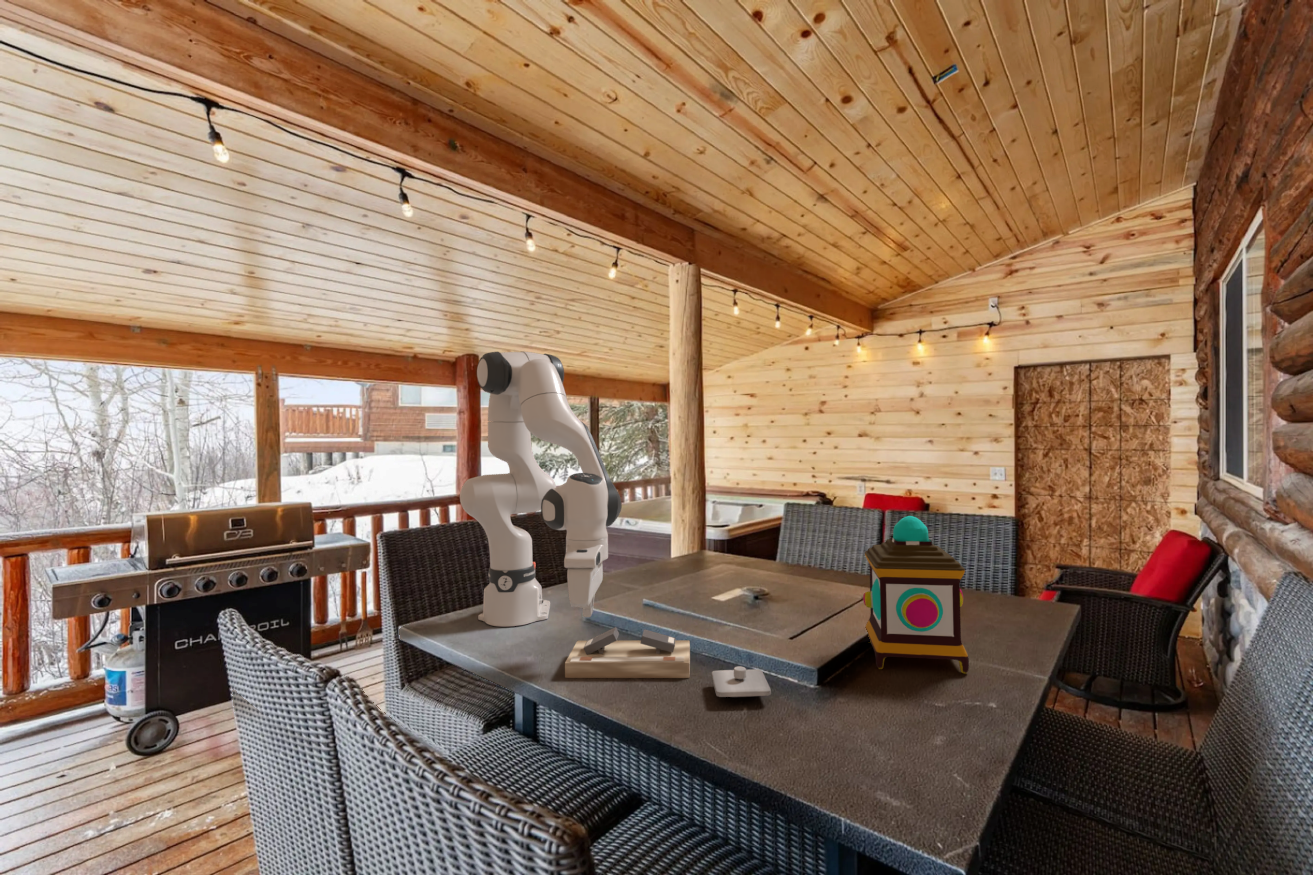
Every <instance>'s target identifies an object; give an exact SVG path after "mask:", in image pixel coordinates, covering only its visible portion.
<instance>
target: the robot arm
mask: <svg viewBox="0 0 1313 875" xmlns="http://www.w3.org/2000/svg"><path fill="white" fill-rule="evenodd" d="M476 377H477V383H478V386H480V388H481V389H482V390H483V392H485V393H488V394H489V399H488V405H487V406H488V407H487V448H488V451H489V452H490V454H491V455H492V456H493V457H495V458H497V459H498V460H501V461H502V462H504V463H506V464H507V466H508V468H509V470H508V471H509V472H508V473H494V474H484V475H483V474H482V475H478V476H475V477H471V478H468V479H466V481H465V482H464V483H463V484H462V487H461V488H460V493H459V502H460V505H461V507H462V509H463V510H464V512H465V513H466V514H468V515H469V516H470V517H472V518H474V519H475V520H476V521H477V522H478V523H479V524H480V525H481V527H482V529H483V530H484V532H485V534H486V538H487V542H488V549H489V563H490V564H489V568H488V573H487V574H488V581H489V584H488V585H487V586H485V587H484V590H483V609H482V613H480V614H478V616H477V617H478V618H477V620H479V621H483V622H484V623H486V624H487V625H490V626H494V627H515V626H516V627H518V626H524V625H527V624H532V623H534V622H539V621H544V620H547V619H549V614H550V608H551V601H550V600H547V599H543V591H542V590H543V588H542V585H541V583H539V581H538V580H537V579H536V575H537V574H536V561H533V538H532V536H531V535H530V534H531V533H529V532H528V531H526V530H525V529H523V528H522V527H519V526H516V525H514V524H513V523H512V520H511V515H516V514H517V515H518V514H528V513H536V512H541V519H542V521H543V522H544V523H545V524H546V525H547V526H548V527H549V528H550V529H552V530H556V531H565V530H566V537H565V555H564V560H563V562H564V563H563V566H564V568H566V570H567V571H566V573H567V575H566V576H567V577H566V580H567V592H568V599H569V604H570V606H571V607H572V608H581V609H582V618H590V617H592V615H593V613H594V602H595V598H596V597H595V596H596V595H595V594H596V592H597V591H598V589H599V588H600V586H601V584H602V582H603V578H604V576H603V575H604V570H603V569H604V568H603V561H606V560H607V559H608V558H609V532H608V529H607V527H611V526H612V525H613V524H614V523H615V522H616V521H617V519H618V517H619V515H620V514H621V512H622V505H623V504H622V499H621V495H620V493H619V491H618V490H617V488H616V486H615V485H614V484H613V481H612V479H611V478H610V476H609V473H608V472H607V469H606V466H605V463H604V462H603V460H602V457H601V454H600V452H599V448H597V445H596V442H595V440H594V438H593V435H592V434H591V431H590V430H589V428H588V426H587V425H586V424H585V422H584V421H581V420H580V419H579V418H578V417H577V415H576V414H575V413H574V412H573V410H572V408H571V406H570V404H569V401H568V398H567V394H566V391H565V387H564V380H565V368H564V365H563V363H562V361H561V360H560V358H559V357H557V356H555V355H552V354H550V353H538V352H532V351H507V352H506V351H505V352H504V351H503V352H500V351H491V352H486V353H484V354H483V355H482V356H481V357H480V358H479V360H478V364H477V369H476ZM532 436H534V437H536V438H537V439H539V440H541V441H544V442H547V443H551V444H554V445H556V446H559V447H561V448H563V449H566V450H567V451H568V452H570V453H572V455H574V456H575V458H576V460H577V462H578V464H579V467H580V470H581V472H575V473H573V474H570V475H569V476H568V477H567V479H566V482H564V483H563V484H561V485H558V486H557V485H556V482H555V481H554V480H555V479H553V477H552V476H551V475H550V474H548V473H547V472H545V471H544V470H543V469H542V468H541V467H540V465H539V463H538V461H537V460H536V458H535V455H534V453H533V452H534V451H533V449H532V448H533V446H532Z"/></svg>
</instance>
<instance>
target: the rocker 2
mask: <svg viewBox="0 0 1313 875" xmlns="http://www.w3.org/2000/svg"><path fill="white" fill-rule="evenodd" d="M675 640H677V639H676V637H673V636H671V635H666V634H664V633H659V632H655V631H652V630H649V629H643V632H642V635H641V643H640V644H644V645H647V646H651V647H655V648H658V649H662V650H665V651H669V652H672V653H673V651H674V647H675Z"/></svg>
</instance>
